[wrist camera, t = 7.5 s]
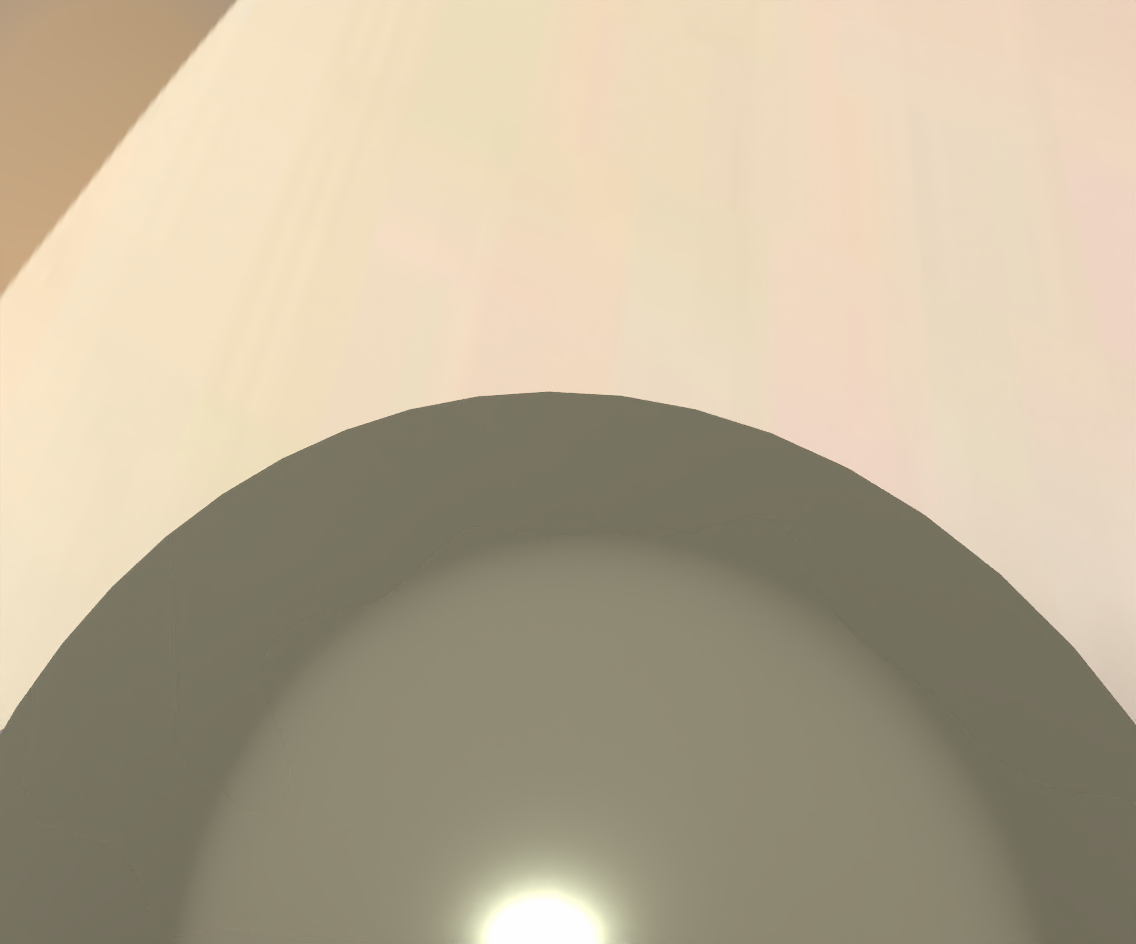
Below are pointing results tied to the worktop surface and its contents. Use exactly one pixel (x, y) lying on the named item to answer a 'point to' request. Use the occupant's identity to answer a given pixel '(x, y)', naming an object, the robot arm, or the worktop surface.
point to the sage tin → (565, 709)
